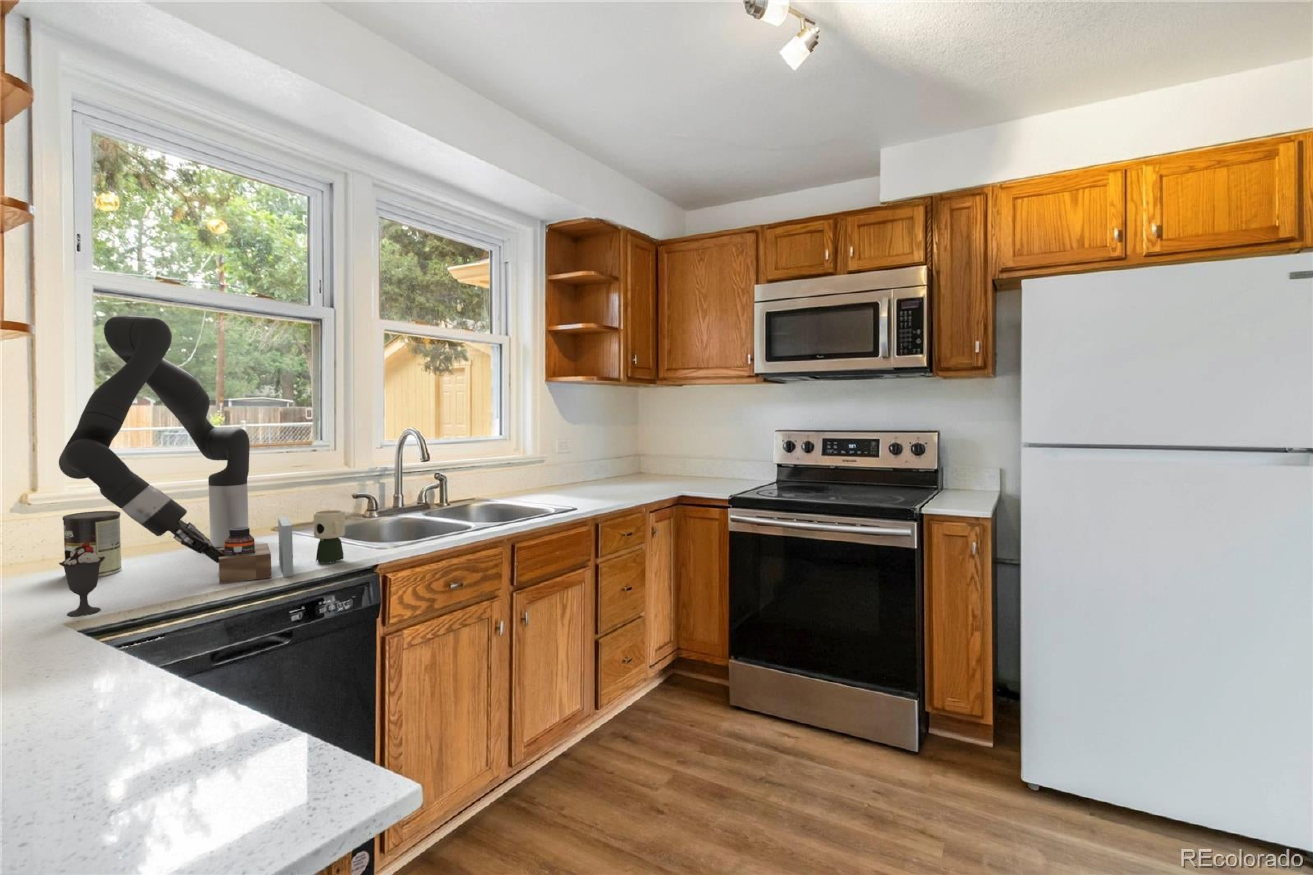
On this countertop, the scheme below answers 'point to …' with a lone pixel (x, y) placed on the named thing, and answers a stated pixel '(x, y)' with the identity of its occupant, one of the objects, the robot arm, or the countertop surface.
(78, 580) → the sundae
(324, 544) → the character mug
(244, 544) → the supplement bottle
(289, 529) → the board
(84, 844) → the countertop surface
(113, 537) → the coffee can
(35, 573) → the countertop surface
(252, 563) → the walnut u-shaped holder
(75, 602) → the countertop surface
